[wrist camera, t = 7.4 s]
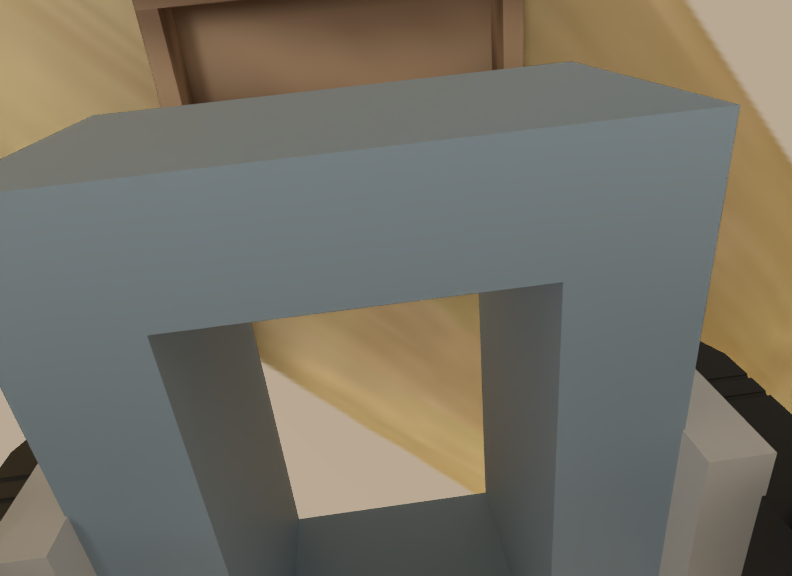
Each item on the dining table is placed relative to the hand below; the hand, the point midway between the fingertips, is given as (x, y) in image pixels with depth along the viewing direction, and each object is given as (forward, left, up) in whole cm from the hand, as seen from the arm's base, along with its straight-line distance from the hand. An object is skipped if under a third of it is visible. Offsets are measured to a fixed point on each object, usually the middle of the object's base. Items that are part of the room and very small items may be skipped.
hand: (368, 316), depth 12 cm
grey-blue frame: (0, 0, +2) cm, 2 cm away
